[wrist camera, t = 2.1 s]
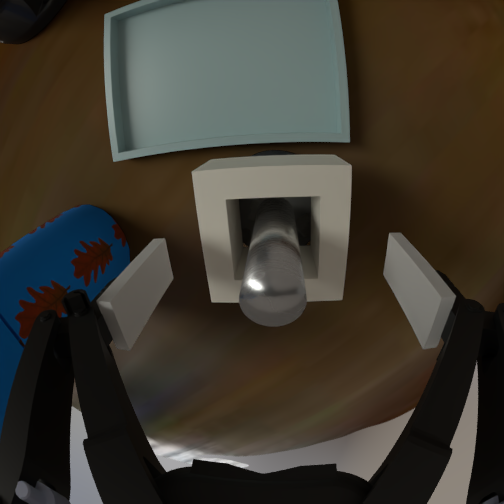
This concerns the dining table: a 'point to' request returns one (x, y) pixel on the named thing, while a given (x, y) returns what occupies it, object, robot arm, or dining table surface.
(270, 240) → the stake
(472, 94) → the dining table surface
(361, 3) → the dining table surface
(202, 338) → the dining table surface
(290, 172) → the ring
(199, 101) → the tray
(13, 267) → the thermos
